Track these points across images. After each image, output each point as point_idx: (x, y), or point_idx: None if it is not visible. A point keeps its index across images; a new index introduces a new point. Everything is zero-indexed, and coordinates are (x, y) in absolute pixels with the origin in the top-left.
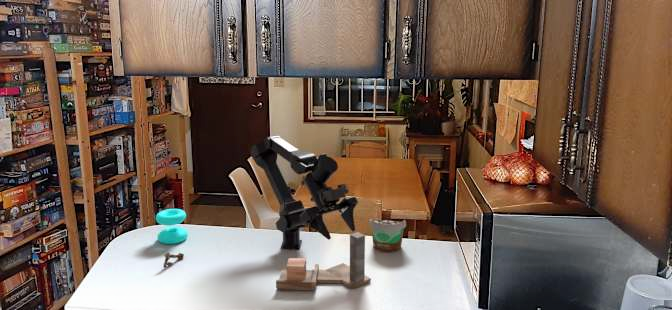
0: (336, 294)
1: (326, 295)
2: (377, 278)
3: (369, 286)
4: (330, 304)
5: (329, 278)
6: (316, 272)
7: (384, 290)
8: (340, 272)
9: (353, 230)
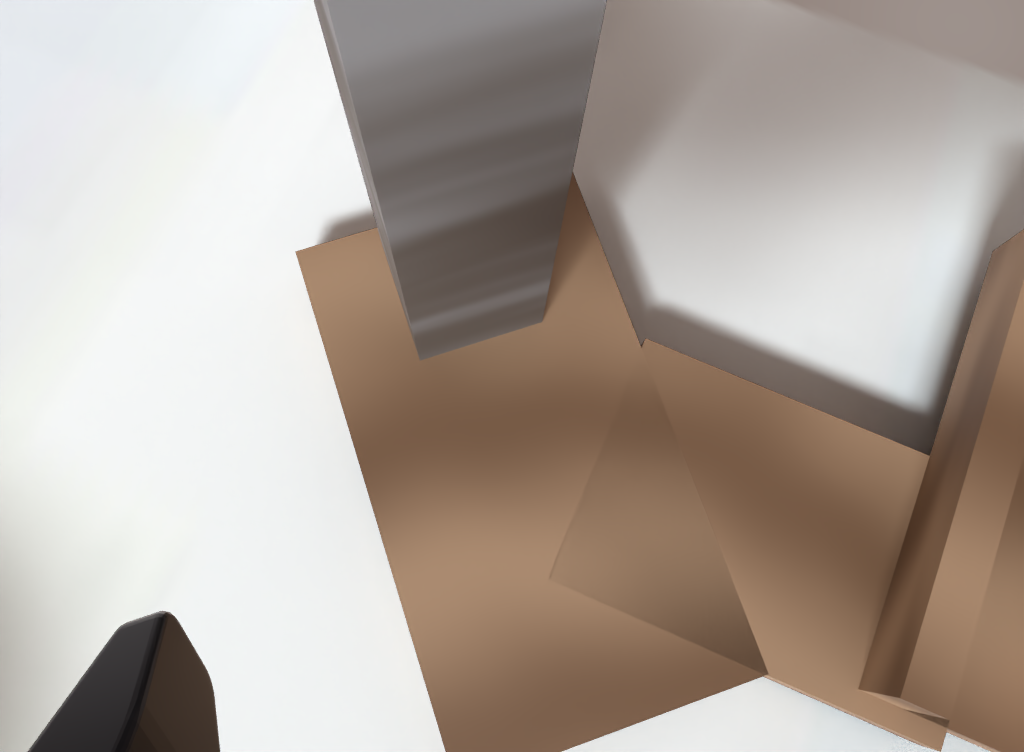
0: (758, 169)
1: (863, 187)
2: (188, 320)
3: (362, 193)
4: (865, 30)
5: (775, 424)
6: (982, 457)
7: (253, 70)
8: (592, 523)
9: (185, 647)
